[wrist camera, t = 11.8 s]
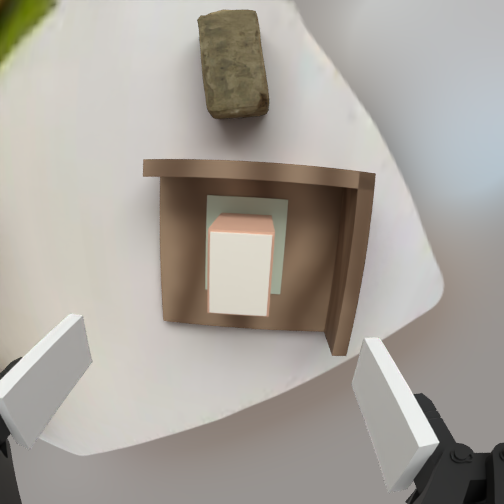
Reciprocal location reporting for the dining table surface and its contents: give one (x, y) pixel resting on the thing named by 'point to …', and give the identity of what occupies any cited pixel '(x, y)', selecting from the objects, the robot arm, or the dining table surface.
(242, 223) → the terracotta block
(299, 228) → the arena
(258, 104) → the stone block
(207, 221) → the sage pad
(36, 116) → the dining table surface
